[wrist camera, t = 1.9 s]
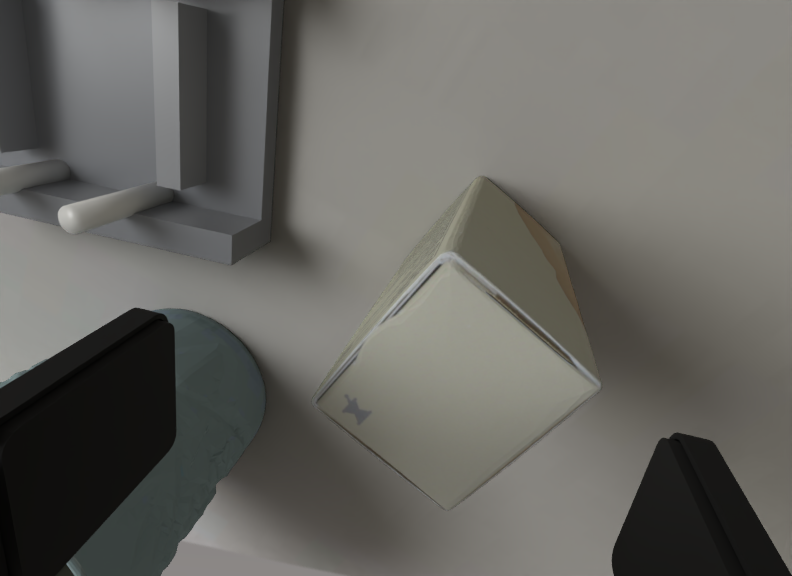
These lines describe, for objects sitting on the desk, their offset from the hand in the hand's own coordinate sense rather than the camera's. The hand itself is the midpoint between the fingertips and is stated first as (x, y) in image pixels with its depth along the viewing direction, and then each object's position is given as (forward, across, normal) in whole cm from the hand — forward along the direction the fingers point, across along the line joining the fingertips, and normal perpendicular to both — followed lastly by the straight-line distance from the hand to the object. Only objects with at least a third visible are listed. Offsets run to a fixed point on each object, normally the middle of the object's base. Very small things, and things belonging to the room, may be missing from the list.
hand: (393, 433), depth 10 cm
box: (+13, -1, 0) cm, 13 cm away
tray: (+13, +15, -4) cm, 20 cm away
